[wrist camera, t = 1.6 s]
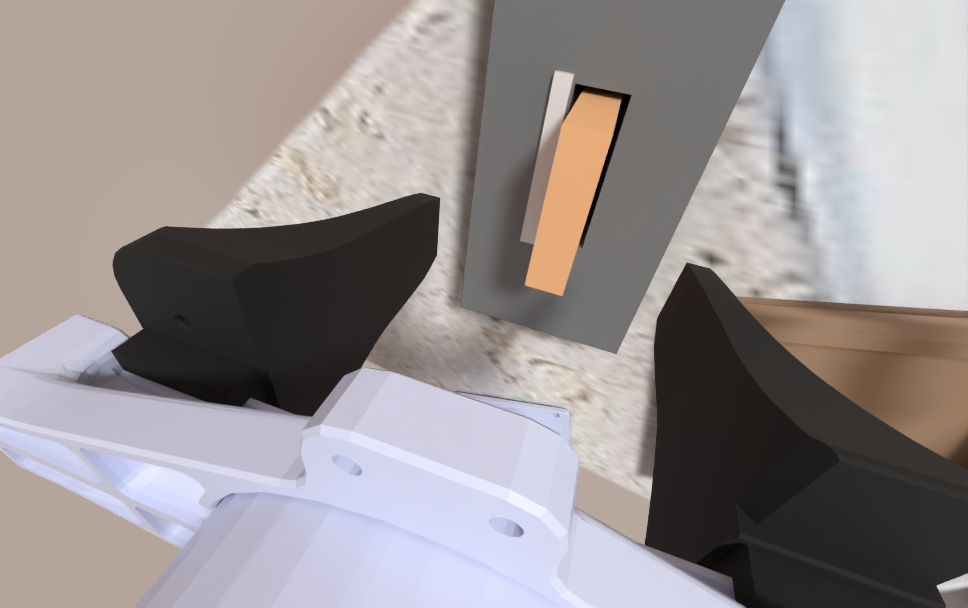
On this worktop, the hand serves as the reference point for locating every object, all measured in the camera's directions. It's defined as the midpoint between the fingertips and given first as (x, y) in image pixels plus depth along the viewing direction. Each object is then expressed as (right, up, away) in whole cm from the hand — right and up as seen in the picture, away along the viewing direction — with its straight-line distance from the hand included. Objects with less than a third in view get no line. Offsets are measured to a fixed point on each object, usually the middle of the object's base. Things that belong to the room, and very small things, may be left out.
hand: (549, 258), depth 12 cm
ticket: (+3, +6, +8) cm, 10 cm away
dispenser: (+3, +6, +8) cm, 10 cm away
